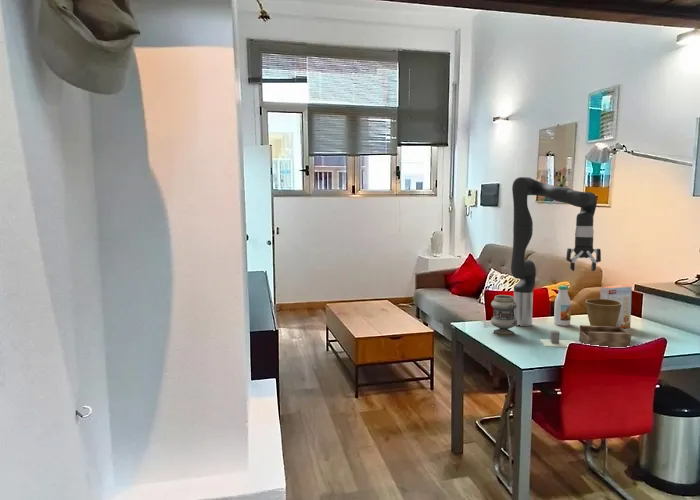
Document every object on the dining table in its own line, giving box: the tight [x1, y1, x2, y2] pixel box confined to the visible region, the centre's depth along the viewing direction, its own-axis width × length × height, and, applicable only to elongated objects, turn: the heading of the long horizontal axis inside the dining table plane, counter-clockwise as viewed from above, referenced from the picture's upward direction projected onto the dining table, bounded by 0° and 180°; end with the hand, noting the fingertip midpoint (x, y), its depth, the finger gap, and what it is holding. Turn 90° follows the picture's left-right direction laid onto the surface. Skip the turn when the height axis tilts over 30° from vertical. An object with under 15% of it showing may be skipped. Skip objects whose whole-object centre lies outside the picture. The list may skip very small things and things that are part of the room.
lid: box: [539, 330, 576, 348], centre depth 210 cm, size 14×10×6 cm
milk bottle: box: [553, 284, 572, 327], centre depth 244 cm, size 8×8×20 cm
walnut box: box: [578, 324, 632, 347], centre depth 207 cm, size 17×13×7 cm
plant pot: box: [585, 298, 622, 326], centre depth 223 cm, size 15×15×16 cm
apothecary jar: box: [490, 294, 518, 337], centre depth 228 cm, size 12×12×18 cm
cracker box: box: [599, 284, 633, 329], centre depth 237 cm, size 14×6×21 cm, turn 106°
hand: (582, 270), depth 219 cm, fingers open, 8 cm apart
